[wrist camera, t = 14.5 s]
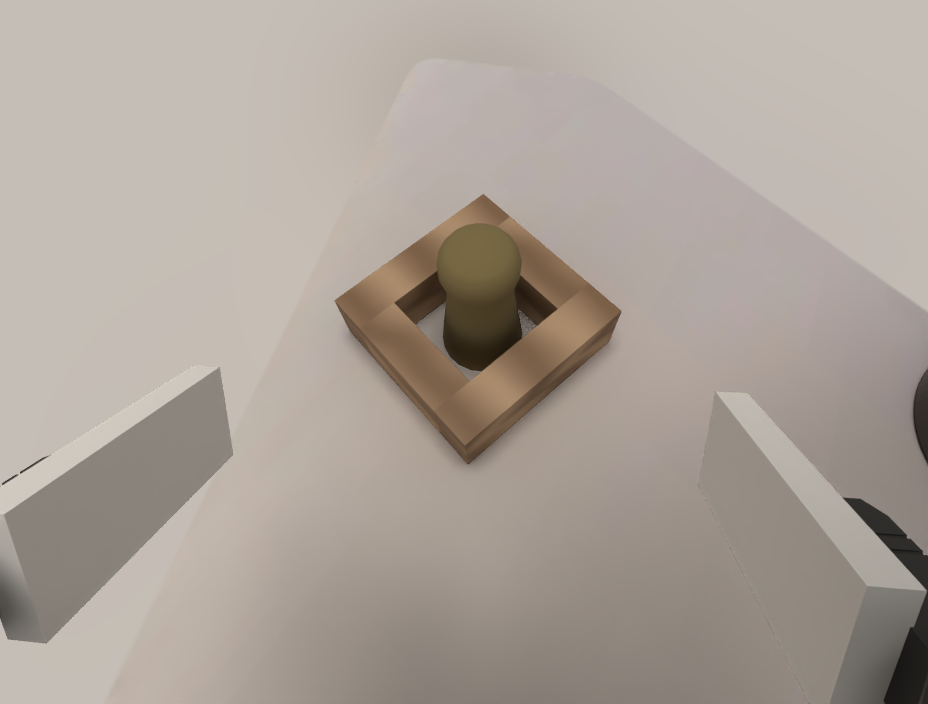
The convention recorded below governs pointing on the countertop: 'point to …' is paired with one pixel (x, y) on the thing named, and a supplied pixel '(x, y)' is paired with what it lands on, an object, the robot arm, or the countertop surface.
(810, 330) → the countertop surface
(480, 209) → the socket block
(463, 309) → the cork
